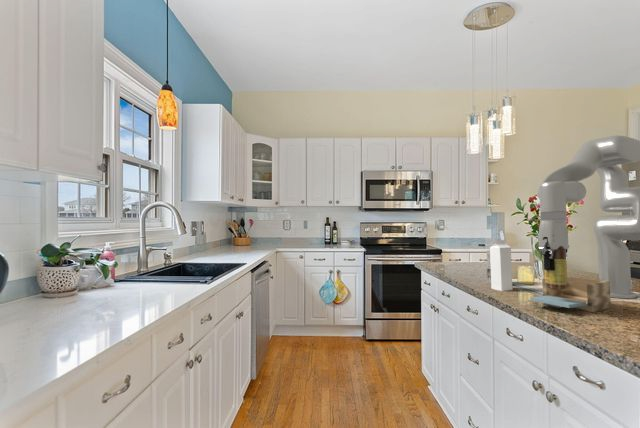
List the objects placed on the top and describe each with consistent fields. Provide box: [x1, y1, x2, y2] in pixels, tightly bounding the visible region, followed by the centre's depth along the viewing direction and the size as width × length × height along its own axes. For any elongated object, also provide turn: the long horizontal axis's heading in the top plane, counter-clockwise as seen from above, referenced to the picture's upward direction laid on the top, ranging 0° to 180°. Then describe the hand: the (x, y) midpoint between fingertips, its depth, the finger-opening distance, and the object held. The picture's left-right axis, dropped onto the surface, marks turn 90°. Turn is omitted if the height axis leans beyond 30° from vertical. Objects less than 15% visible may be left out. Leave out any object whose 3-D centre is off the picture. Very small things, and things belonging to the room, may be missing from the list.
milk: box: [489, 239, 513, 292], centre depth 151 cm, size 6×6×22 cm
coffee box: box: [486, 250, 491, 285], centre depth 164 cm, size 9×6×16 cm
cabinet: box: [542, 275, 612, 313], centre depth 121 cm, size 12×16×9 cm
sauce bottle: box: [544, 246, 568, 289], centre depth 117 cm, size 7×6×20 cm
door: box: [529, 295, 586, 309], centre depth 117 cm, size 10×12×2 cm
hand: (555, 268), depth 117 cm, fingers closed on sauce bottle, 6 cm apart
